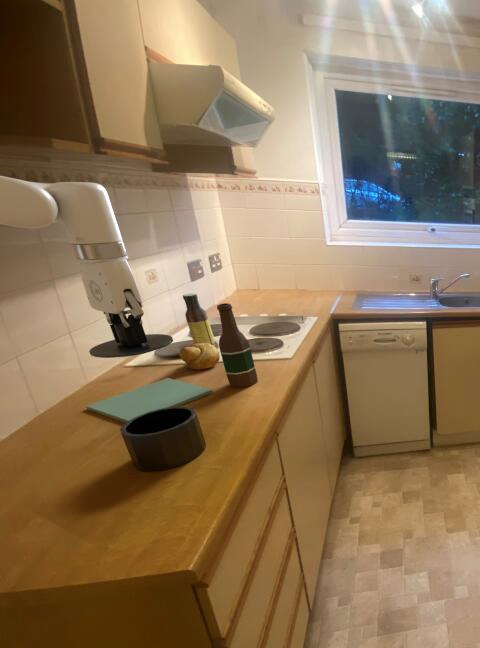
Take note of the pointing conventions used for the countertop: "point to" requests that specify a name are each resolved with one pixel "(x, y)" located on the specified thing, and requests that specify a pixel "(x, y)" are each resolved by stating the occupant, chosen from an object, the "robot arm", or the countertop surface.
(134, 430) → the pot
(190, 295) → the sauce bottle
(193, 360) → the bread roll
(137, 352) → the pot lid
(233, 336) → the beer bottle
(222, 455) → the countertop surface
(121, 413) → the cutting board
